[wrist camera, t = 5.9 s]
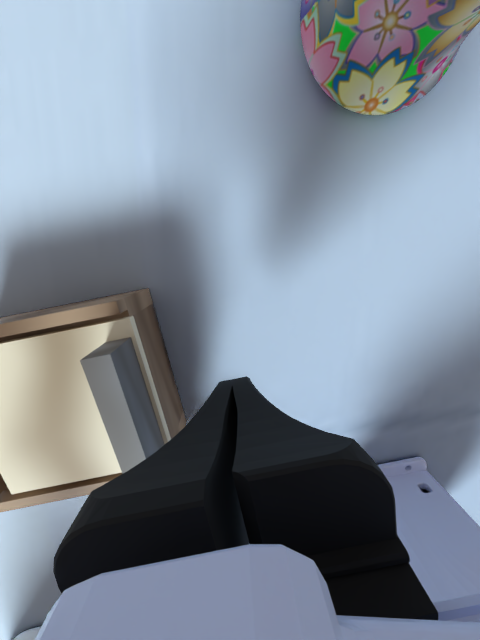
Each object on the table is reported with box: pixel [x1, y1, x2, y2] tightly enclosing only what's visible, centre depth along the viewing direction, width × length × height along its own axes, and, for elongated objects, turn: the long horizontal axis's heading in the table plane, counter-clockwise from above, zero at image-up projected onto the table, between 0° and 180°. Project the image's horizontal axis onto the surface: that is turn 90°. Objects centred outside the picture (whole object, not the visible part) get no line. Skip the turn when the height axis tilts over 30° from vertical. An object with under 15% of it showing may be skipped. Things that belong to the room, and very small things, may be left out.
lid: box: [0, 316, 171, 494], centre depth 12 cm, size 9×8×3 cm
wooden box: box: [0, 288, 186, 512], centre depth 15 cm, size 10×10×5 cm
